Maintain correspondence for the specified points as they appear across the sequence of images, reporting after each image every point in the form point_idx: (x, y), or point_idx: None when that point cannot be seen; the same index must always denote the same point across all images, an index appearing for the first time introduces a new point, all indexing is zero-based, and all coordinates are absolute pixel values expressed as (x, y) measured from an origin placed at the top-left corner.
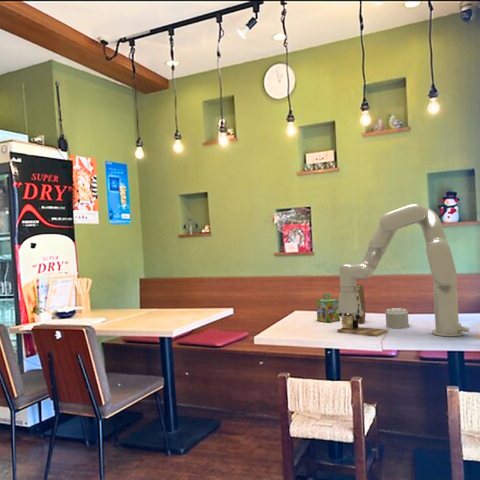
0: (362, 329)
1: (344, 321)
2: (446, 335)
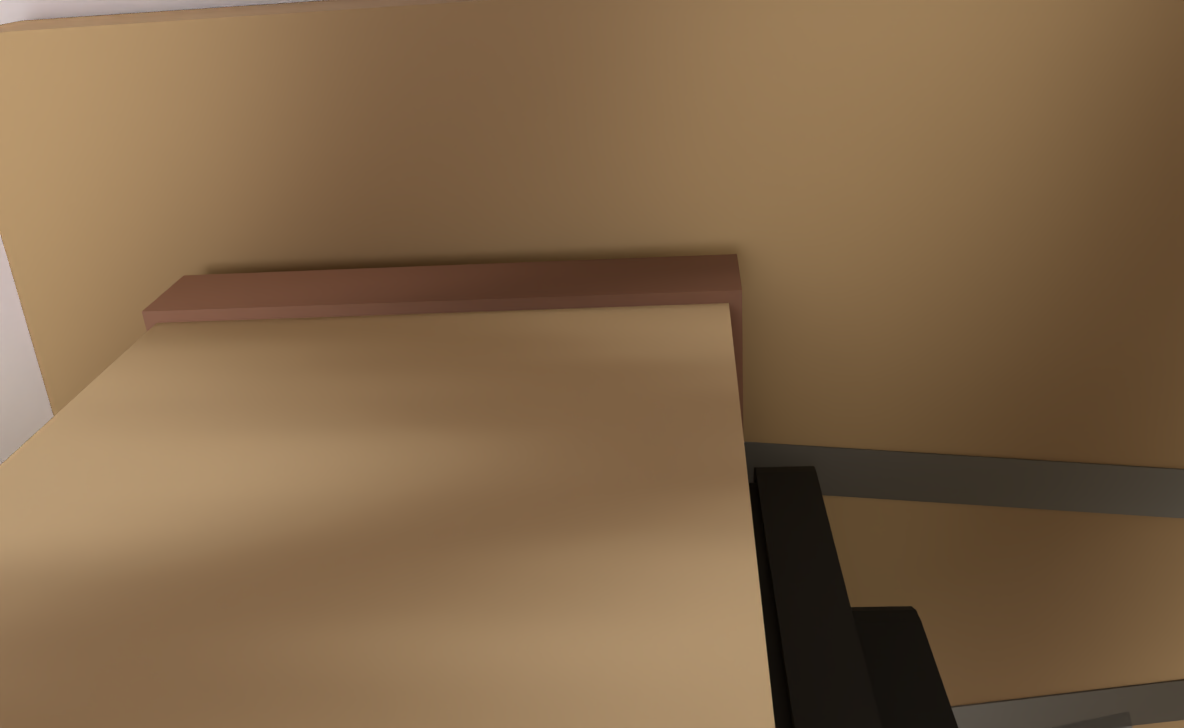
0: (1131, 524)
1: None
2: None
